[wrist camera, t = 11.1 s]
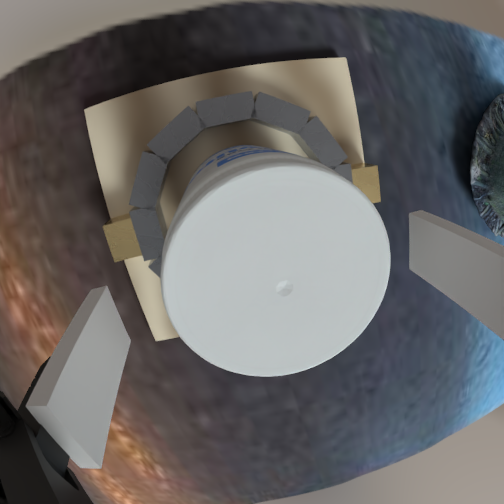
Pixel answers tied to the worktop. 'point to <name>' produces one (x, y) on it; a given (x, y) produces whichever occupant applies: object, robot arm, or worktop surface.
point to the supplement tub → (272, 262)
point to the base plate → (209, 139)
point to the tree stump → (489, 166)
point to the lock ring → (186, 130)
